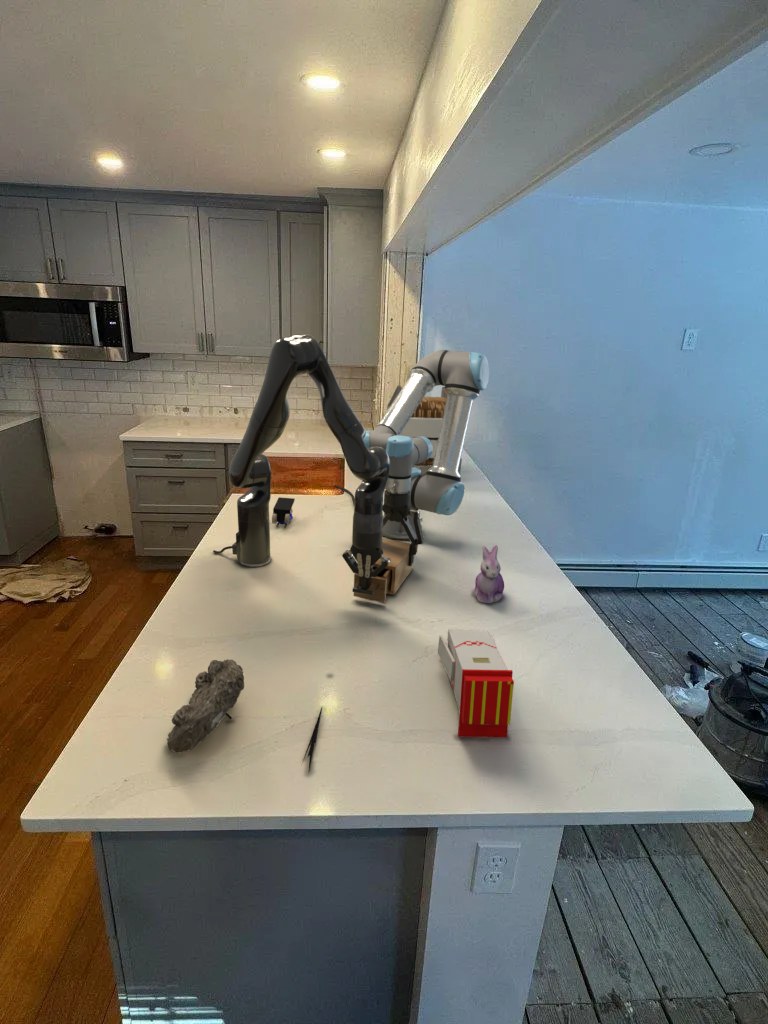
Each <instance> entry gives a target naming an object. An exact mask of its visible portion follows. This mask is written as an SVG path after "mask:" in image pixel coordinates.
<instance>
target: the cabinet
mask: <svg viewBox="0 0 768 1024" xmlns="http://www.w3.org/2000/svg"><path fill="white" fill-rule="evenodd" d="M410 544H411V542H405V541H401V540H395V539H389V538H382V550H383V555H384V556H385V557H386V558H390V559H391V561H390V563H389V564H388V565H387V566H386V567H385V569H391V570H392V584H391V588H390V589H389V591H388V592H387V593H386V595H387V594H388V595H393V596H394V595H395V594H396V593H397V591H399V589H400V587H401V586H402V585H403V583H404V582H405V580H406V578H407V577H408V576H409V575H410V573H411V572H412V571H413V564H412V565H411V566H408V563H409V547H410ZM379 565H380V559H379V560H378V561H377V562H376V563H375V564H374V567H378V566H379Z"/></svg>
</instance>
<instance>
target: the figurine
mask: <svg viewBox="0 0 768 1024" xmlns="http://www.w3.org/2000/svg"><path fill="white" fill-rule="evenodd" d="M481 551H482V561H481V563H480V566H479V567H480V572H479V573H478V574H477V575H476V576H475V582H474V583H475V584H474V591H473V594H474V597H476V598H477V600H478V602H480V603H485V604H493V603H494V602H495V603H496V602H499V601H500V600H501V599H502V597H503V594H504V591H505V580H504V578H503V575H502V574H501V570H502V569H501V564H500V562H499V560H498V552H499V545H497V544H495V545H494V546H492V548H491V551H490V552H489V549H488V548H487V546H485V545H483V546H482V548H481Z"/></svg>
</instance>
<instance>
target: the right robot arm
mask: <svg viewBox="0 0 768 1024" xmlns="http://www.w3.org/2000/svg"><path fill="white" fill-rule="evenodd" d="M489 380H490V366H489V361H488V359H487V356H485V354H484V353H480V352H475V351H461V350H449V349H439V350H436V351H432V352H431V353H429V354H427V355H425V356H423V357H422V358H421V359H419V360H418V361H417V362H416V363H415V364H414V365H413V366H412V367H411V369H410V371H409V372H408V375H407V381H406V382H405V383H404V385H403V387H402V390H401V391H400V392H399V394H398V395H397V397H396V398H395V400H394V401H393V403H392V404H391V406H390V407H389V409H388V410H387V409H386V412H385V413H384V414H383V416H382V418H381V419H380V421H379V422H378V423H377V425H376V426H375V427H374V429H373V430H371V429H370V430H366V429H365V431H366V435H365V437H364V438H363V441H364V444H365V446H366V448H367V449H368V448H371V447H375V446H378V447H381V448H383V449H384V450H385V451H386V452H387V454H388V456H389V460H390V470H389V475H388V479H387V483H386V487H385V490H384V493H383V532H382V537H385V538H386V539H389V540H394V541H410V543H411V544H410V547H409V563H408V566H411V565H412V566H413V564H414V556H416V555H417V554H418V547H419V546H421V545H423V543H424V542H425V537H424V532H423V525H422V524H421V522H423V517H421V511H425V512H429V513H433V514H437V515H443V516H452V515H453V514H455V513H456V512H457V510H458V509H459V508H460V506H461V505H462V502H463V499H464V496H465V489H466V487H465V485H464V483H463V482H461V480H462V476H461V474H460V475H459V473H458V468H459V463H460V458H462V453H463V448H464V443H465V440H466V435H467V430H468V425H469V421H470V416H471V411H472V406H473V403H474V400H476V399H478V397H479V396H480V392H482V391H484V390H486V389H487V387H488V384H489ZM436 386H442V387H445V388H444V391H445V392H446V394H447V400H446V405H445V410H444V415H443V419H442V424H441V429H440V433H439V438H438V443H437V447H436V452H435V457H434V461H433V466H432V465H431V466H430V468H428V469H427V470H426V473H425V475H424V474H422V470H421V468H419V467H415V466H414V465H416V464H419V463H422V462H424V461H426V460H427V459H428V458H430V456H431V455H432V452H433V446H432V443H431V441H430V440H429V439H428V438H426V437H423V436H420V437H419V436H417V437H415V438H411V437H408V436H399V435H400V433H401V432H402V430H403V429H404V427H405V426H406V424H407V423H408V421H409V419H410V418H411V416H412V415H413V413H414V412H415V410H416V409H417V407H418V406H419V404H420V402H421V401H422V399H423V398H424V397H426V395H427V393H430V392H432V391H433V389H434V388H435V387H436ZM333 487H334V488H335V489H339V490H342V491H344V492H346V493H347V494H348V495H350V497H351V499H352V503H353V504H354V503H355V495H354V494H353V493H352V492H351V491H350V490H349V489H347V488H345V487H342V486H339V485H336V484H334V485H333ZM420 517H421V518H420ZM418 545H419V546H418Z"/></svg>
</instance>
